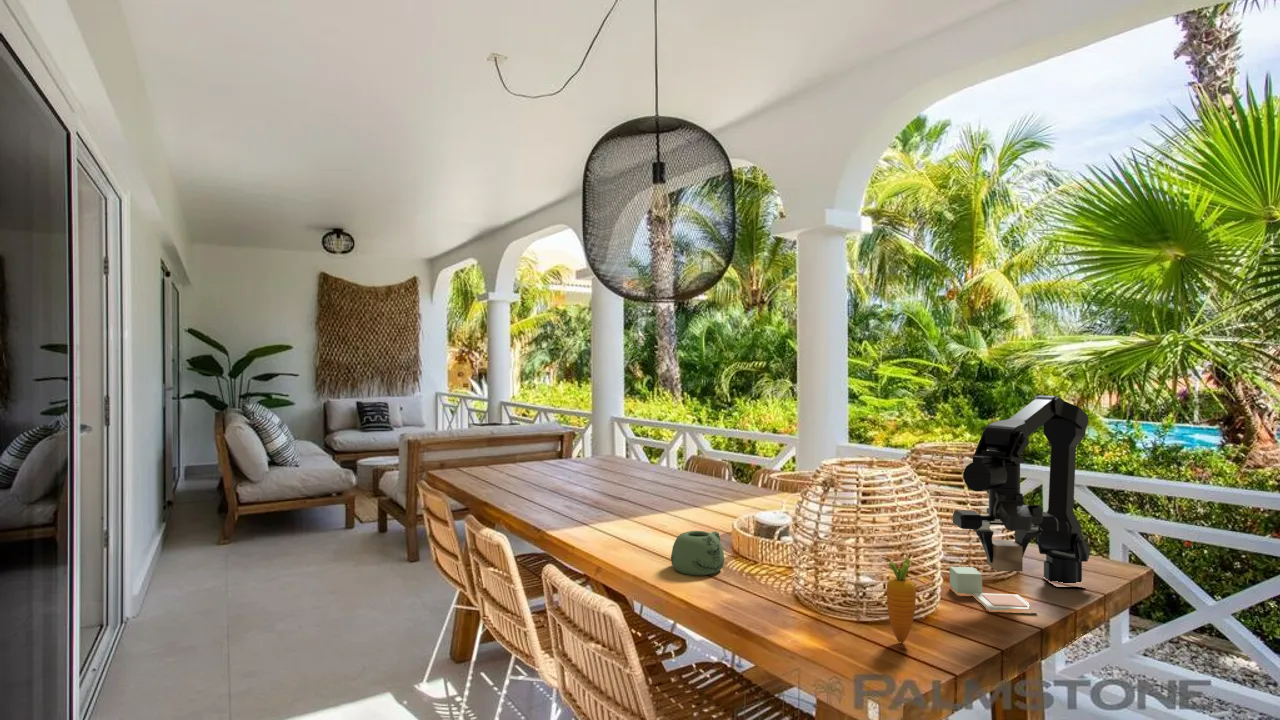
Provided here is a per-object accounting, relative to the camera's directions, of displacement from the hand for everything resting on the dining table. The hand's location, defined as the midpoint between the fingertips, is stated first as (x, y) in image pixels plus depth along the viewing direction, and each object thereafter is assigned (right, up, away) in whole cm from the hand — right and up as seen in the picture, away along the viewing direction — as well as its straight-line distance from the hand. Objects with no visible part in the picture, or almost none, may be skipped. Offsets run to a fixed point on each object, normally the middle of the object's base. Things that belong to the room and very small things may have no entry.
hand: (1004, 562), depth 146 cm
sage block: (-4, -9, +8) cm, 13 cm away
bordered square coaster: (0, -9, 0) cm, 9 cm away
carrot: (-28, -9, -19) cm, 35 cm away
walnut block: (0, -1, 0) cm, 1 cm away
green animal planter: (-60, -9, +26) cm, 66 cm away
